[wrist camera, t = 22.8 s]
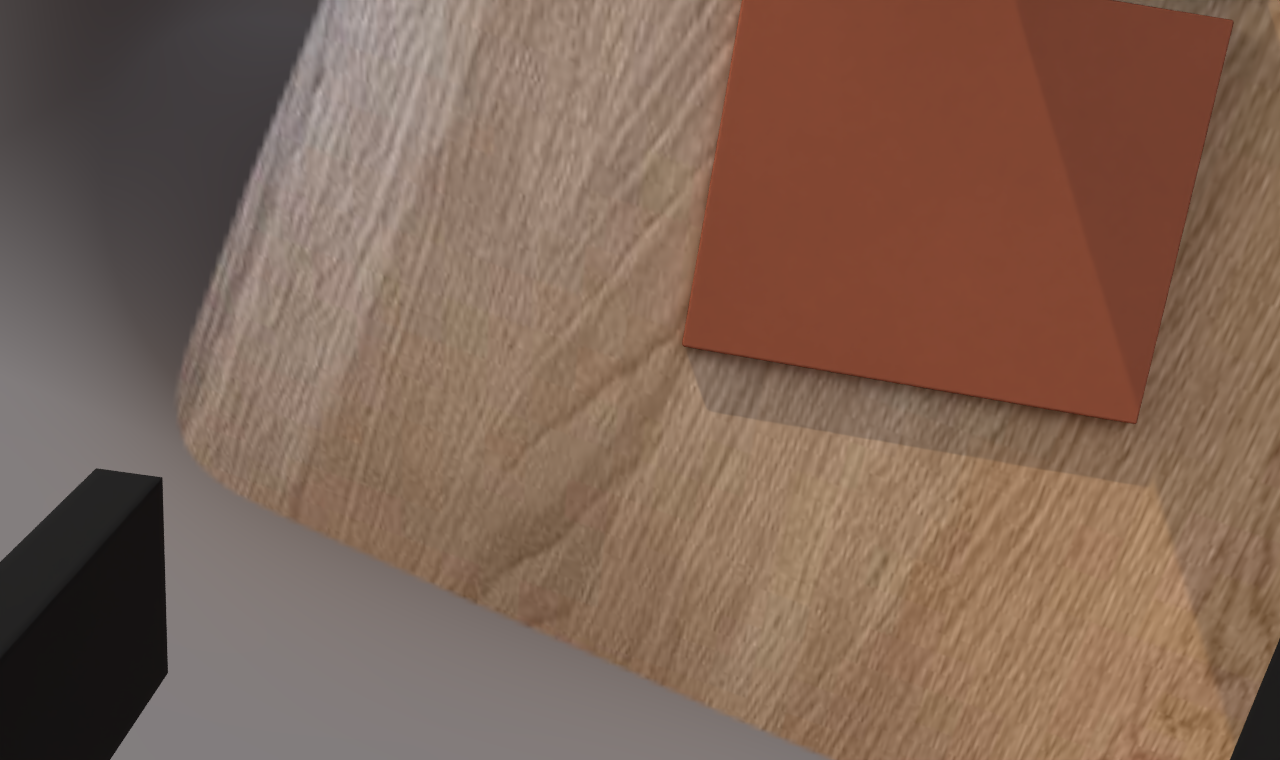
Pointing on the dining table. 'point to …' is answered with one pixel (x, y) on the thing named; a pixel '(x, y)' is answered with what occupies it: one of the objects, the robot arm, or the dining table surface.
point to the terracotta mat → (956, 192)
